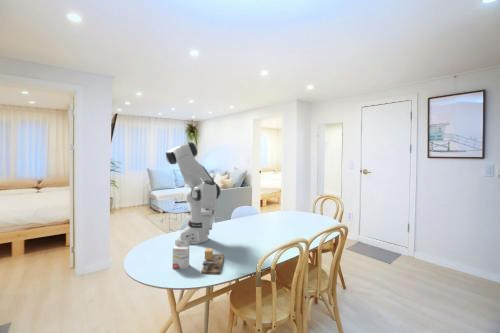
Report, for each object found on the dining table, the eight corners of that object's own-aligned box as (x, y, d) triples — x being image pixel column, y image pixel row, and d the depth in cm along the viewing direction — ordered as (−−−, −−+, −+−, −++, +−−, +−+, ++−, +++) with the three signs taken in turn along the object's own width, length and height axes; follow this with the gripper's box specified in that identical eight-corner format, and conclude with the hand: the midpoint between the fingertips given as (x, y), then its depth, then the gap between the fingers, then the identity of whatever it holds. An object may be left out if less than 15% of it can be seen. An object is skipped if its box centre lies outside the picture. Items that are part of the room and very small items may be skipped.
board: (201, 273, 134) (201, 265, 133) (208, 255, 156) (208, 249, 155) (219, 273, 134) (219, 266, 133) (224, 256, 156) (224, 249, 155)
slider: (204, 262, 143) (204, 251, 143) (205, 259, 147) (206, 248, 146) (218, 262, 143) (218, 251, 142) (218, 259, 147) (219, 248, 146)
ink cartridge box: (172, 268, 138) (172, 243, 137) (174, 264, 143) (174, 239, 142) (187, 268, 138) (187, 243, 137) (189, 264, 143) (189, 240, 142)
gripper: (206, 204, 153) (206, 226, 154) (199, 213, 133) (199, 238, 134) (217, 204, 153) (216, 226, 154) (211, 213, 133) (211, 238, 134)
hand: (208, 232), depth 144 cm, fingers open, 8 cm apart
